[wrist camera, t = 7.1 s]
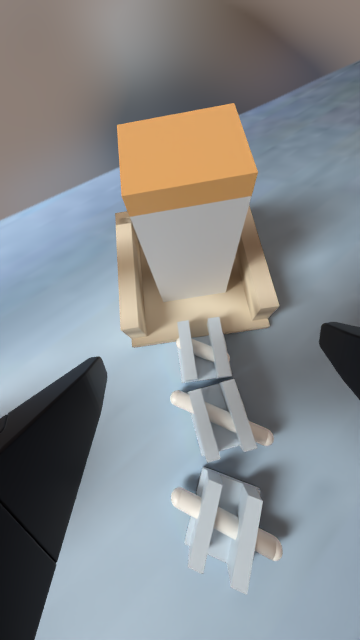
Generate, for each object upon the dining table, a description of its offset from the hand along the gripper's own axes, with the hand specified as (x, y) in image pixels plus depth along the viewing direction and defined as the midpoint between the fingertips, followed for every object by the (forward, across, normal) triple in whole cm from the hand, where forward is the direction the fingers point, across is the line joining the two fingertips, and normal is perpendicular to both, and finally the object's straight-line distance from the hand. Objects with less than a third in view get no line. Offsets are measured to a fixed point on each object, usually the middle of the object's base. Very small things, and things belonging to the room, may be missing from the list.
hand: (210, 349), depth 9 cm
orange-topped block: (+10, 0, 0) cm, 10 cm away
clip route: (+3, 0, +8) cm, 8 cm away
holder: (+11, 0, 0) cm, 11 cm away
